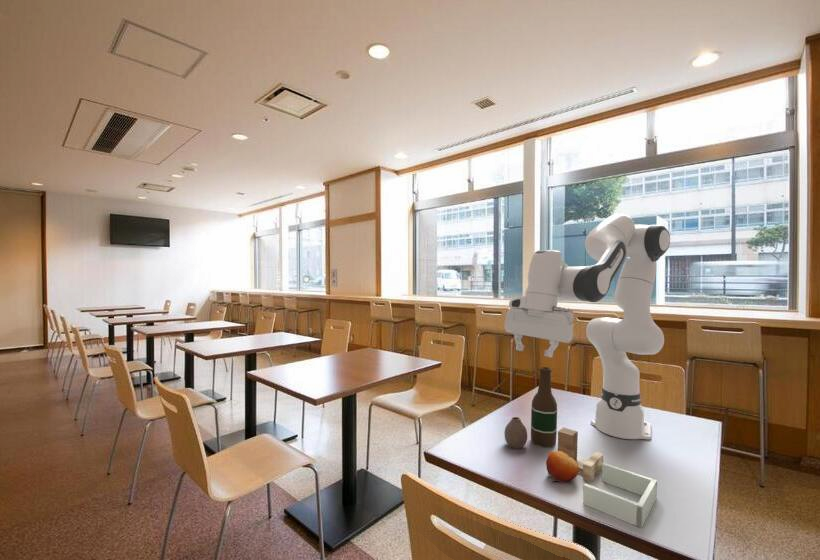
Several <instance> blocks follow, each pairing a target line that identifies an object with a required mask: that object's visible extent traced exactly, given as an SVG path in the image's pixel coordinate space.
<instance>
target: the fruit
mask: <svg viewBox="0 0 820 560" xmlns="http://www.w3.org/2000/svg"><path fill="white" fill-rule="evenodd" d="M545 466H546V470H547V471H546V472H547V475H550V477H551V480H552V482H551V484H553V483H554V482H555V481H557V482H560V483H563V484H565V483H571V482H573V481H574V480H575V479H576V477H577V475H578V474H579V473H578V471H579V467H578V465H577V464H576V461H575V460H574V459H573V458H571V457H570V456H569V455H567V454H566V453H563V452H562V451H558V450H552V451H550V452H549V453H548V455H547V458H546V462H545Z"/></svg>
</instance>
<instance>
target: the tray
mask: <svg viewBox="0 0 820 560" xmlns="http://www.w3.org/2000/svg"><path fill="white" fill-rule="evenodd" d="M601 471H602V472H601V474H602V475H601V482H603V483H606V484H609V485H612V486H615V487H618V488H620V489H623V490H626V491H628V492H631V493H634V494H635V495H640V496H641V497H640V498H639V501H638V502H636V501H634V500H630V499H629V498H626V497H623V496H620V495H618V494H615V493H612V492H609V491H606V490H604V489H601V488H599V487H596V486H594V485H591V484H589V483H586V482H585V483H584V484H583V495H582V497H583V498H582V504H583V505H585V506H587V507H589V508H592V509H595V510H597V511H599V512H602V513H603V514H607V515H609V516H611V517H614V518H617V519H618V520H621V521H624V522H626V523H628V524H631V525H633V526H636V527H638V528H643V525H644V523H645V521H646V520H647V519H648V516H649V514H650V513H651V510H652V508H653V507H654V504H655V502H656V501H657V491H658V490H657V488H658V480H657V479H654V478H651V477H648V476H645V475H641V474H639V473H636V472H632V471H630V470H627V469H624V468H622V467H617V466H614V465H612V464H609V463H606V462H603V464H602V470H601Z"/></svg>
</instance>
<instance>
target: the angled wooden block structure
mask: <svg viewBox="0 0 820 560" xmlns="http://www.w3.org/2000/svg"><path fill="white" fill-rule="evenodd" d="M578 433H579V432H578V431H577V430H574V429H570V428H568V427H562V428H560V430H558V431H557V451H562V452H563V453H566V454H567V455H569V456H570V457H571V458H573V459H574V460H575V461H576V464H577V465H578V467H579V471H578V474H580V475H582V480H584V481H587V482H590V483H591V482H592V481H593V480H594V479H595V478H596V477H597V476H598V474H599V473H600V472H601V471H602V464H603V463H604V453H601V452H596V451H595V452H594V453H593V454H592V455H590V457H589V458H588V459H587V460H586V461H585V460H583V459H580V458H578V443H579V442H578V435H579V434H578Z"/></svg>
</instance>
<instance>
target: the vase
mask: <svg viewBox="0 0 820 560" xmlns="http://www.w3.org/2000/svg"><path fill="white" fill-rule="evenodd" d="M504 440H505V442H506V444H507V445H508V447H510V448H512V449H519V448H520V449H522V448H523V447H524V446H526V443H527V442H528V441H527V440H528V431H527V428H526V426H525V425H524V423H523V422H522V420H521V418H520V417H518V416H513V417H511V420H510V421H509V422H508V423H507V424H506V426H505V429H504Z"/></svg>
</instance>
